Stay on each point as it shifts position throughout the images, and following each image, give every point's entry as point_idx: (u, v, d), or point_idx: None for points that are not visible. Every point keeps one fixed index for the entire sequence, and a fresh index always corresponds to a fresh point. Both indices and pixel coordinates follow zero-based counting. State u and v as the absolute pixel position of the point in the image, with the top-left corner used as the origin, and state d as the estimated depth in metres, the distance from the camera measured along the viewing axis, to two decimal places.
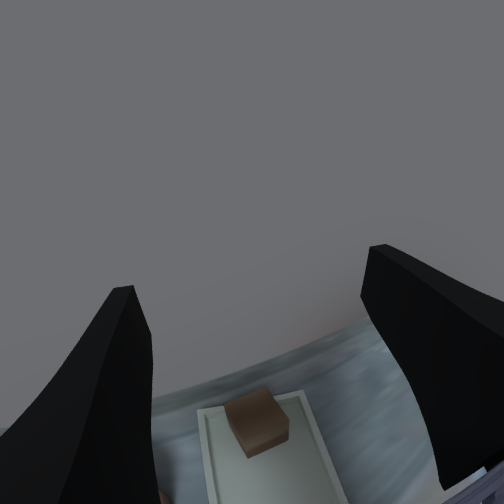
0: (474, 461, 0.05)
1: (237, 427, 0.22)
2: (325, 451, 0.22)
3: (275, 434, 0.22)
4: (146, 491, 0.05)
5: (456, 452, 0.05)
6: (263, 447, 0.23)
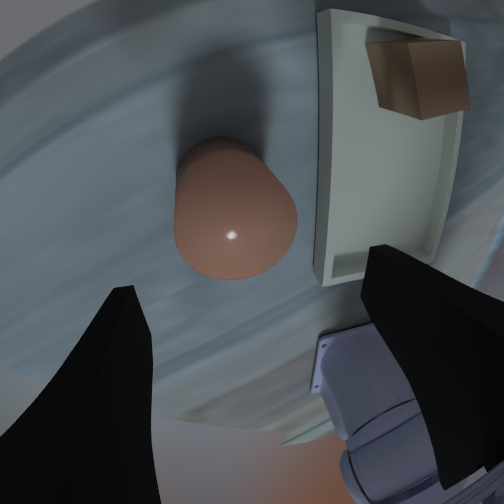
0: (474, 461, 0.05)
1: (419, 95, 0.12)
2: (458, 140, 0.17)
3: None
4: (146, 490, 0.05)
5: (456, 452, 0.05)
6: None
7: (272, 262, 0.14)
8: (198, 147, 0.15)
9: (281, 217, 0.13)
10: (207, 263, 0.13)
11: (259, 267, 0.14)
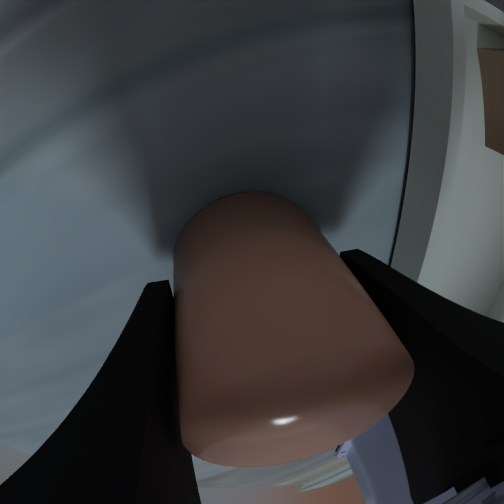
0: (444, 481, 0.05)
1: None
2: None
3: None
4: (190, 489, 0.05)
5: (425, 470, 0.05)
6: None
7: (350, 437, 0.07)
8: (213, 217, 0.08)
9: (387, 393, 0.06)
10: (245, 459, 0.06)
11: (328, 445, 0.07)
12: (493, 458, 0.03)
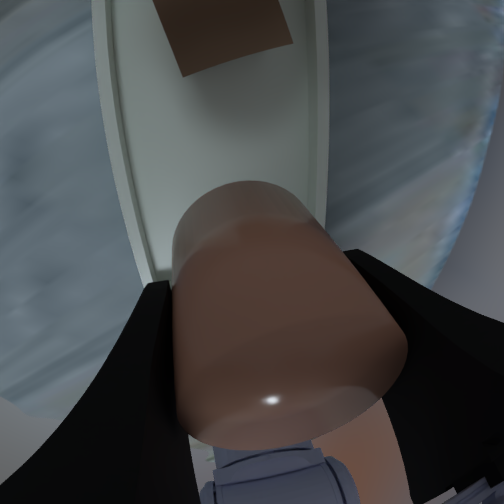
0: (444, 481, 0.05)
1: (172, 43, 0.08)
2: (326, 103, 0.13)
3: None
4: (190, 488, 0.05)
5: (425, 470, 0.05)
6: None
7: (349, 419, 0.07)
8: (207, 205, 0.09)
9: (382, 370, 0.06)
10: (243, 441, 0.06)
11: (328, 428, 0.07)
12: (493, 458, 0.03)
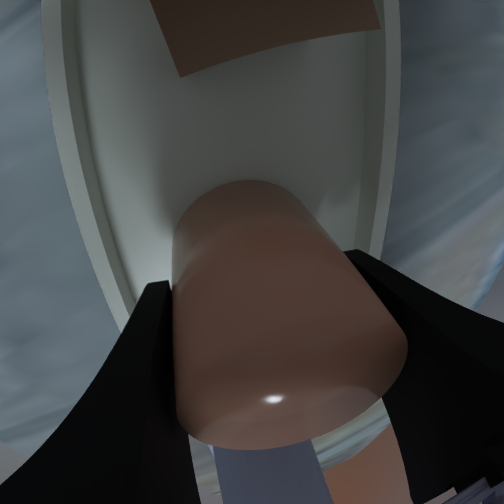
0: (444, 481, 0.05)
1: (160, 12, 0.04)
2: (394, 125, 0.09)
3: None
4: (190, 488, 0.05)
5: (425, 470, 0.05)
6: None
7: (349, 418, 0.07)
8: (207, 205, 0.09)
9: (382, 369, 0.06)
10: (243, 440, 0.06)
11: (327, 428, 0.07)
12: (493, 458, 0.03)
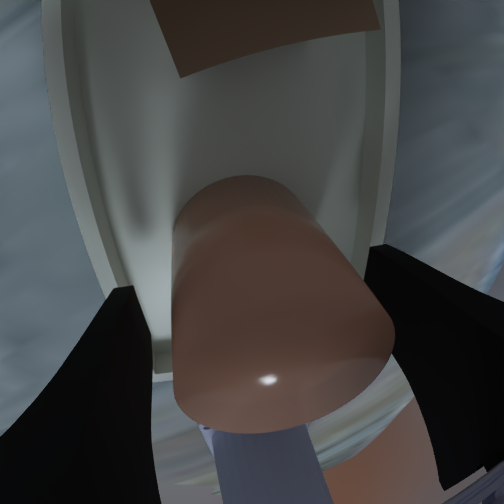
0: (474, 461, 0.05)
1: (160, 13, 0.04)
2: (394, 125, 0.09)
3: None
4: (146, 490, 0.05)
5: (456, 452, 0.05)
6: None
7: (341, 404, 0.08)
8: (205, 198, 0.09)
9: (370, 353, 0.06)
10: (237, 423, 0.07)
11: (320, 412, 0.08)
12: None
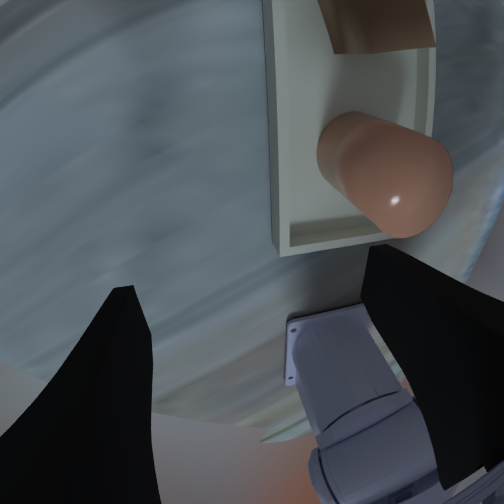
0: (474, 461, 0.05)
1: (368, 26, 0.10)
2: (432, 93, 0.15)
3: None
4: (146, 490, 0.05)
5: (456, 452, 0.05)
6: None
7: (431, 221, 0.14)
8: (346, 118, 0.15)
9: (444, 181, 0.13)
10: (389, 221, 0.13)
11: (422, 225, 0.14)
12: None
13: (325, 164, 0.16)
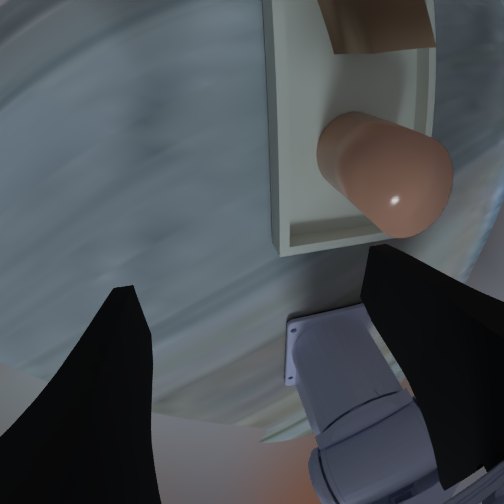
0: (474, 461, 0.05)
1: (368, 26, 0.10)
2: (432, 93, 0.15)
3: None
4: (146, 490, 0.05)
5: (456, 452, 0.05)
6: None
7: (431, 221, 0.14)
8: (346, 118, 0.15)
9: (444, 181, 0.12)
10: (389, 221, 0.13)
11: (422, 225, 0.14)
12: None
13: (325, 164, 0.16)
